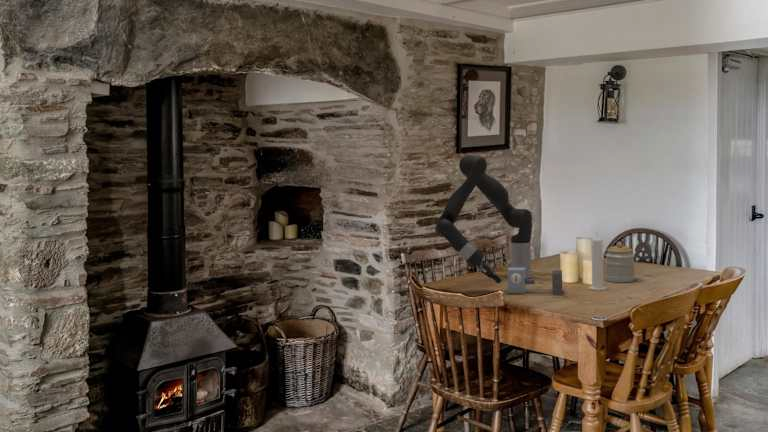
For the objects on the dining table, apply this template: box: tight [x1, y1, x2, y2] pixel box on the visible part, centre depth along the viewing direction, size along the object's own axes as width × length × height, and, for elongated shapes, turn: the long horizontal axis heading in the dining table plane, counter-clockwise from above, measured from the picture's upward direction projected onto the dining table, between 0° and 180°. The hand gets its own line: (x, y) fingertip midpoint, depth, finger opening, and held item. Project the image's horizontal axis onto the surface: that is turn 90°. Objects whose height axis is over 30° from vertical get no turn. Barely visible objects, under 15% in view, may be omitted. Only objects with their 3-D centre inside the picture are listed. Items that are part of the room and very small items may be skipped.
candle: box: [588, 231, 607, 291], centre depth 314 cm, size 7×7×25 cm
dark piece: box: [498, 269, 566, 297], centre depth 309 cm, size 12×28×10 cm, turn 76°
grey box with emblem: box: [507, 267, 535, 293], centre depth 310 cm, size 6×11×10 cm, turn 76°
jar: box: [604, 241, 636, 283], centre depth 331 cm, size 13×13×18 cm
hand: (500, 282), depth 312 cm, fingers closed
